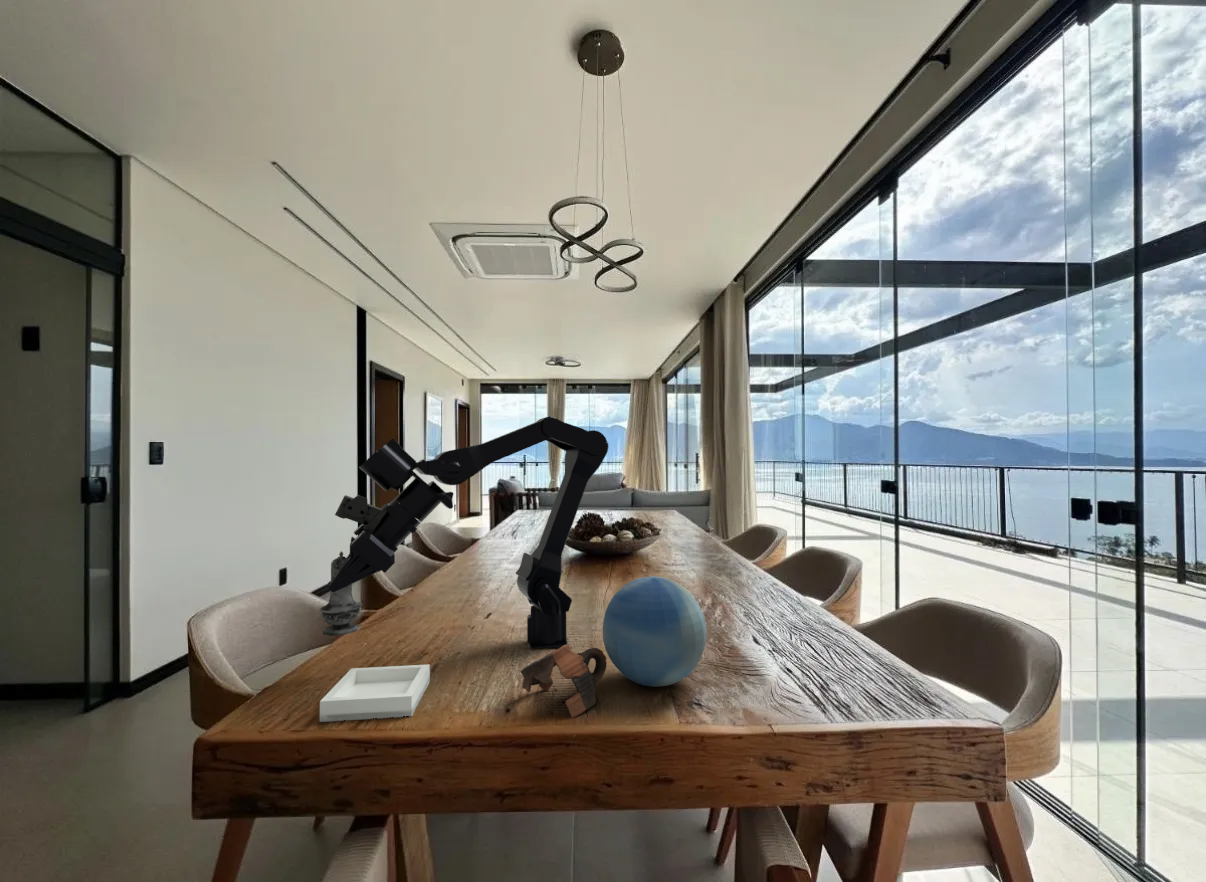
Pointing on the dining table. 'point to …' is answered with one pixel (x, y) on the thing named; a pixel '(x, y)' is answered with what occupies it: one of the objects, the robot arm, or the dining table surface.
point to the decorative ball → (654, 631)
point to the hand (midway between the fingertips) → (331, 587)
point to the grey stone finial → (340, 605)
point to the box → (376, 693)
